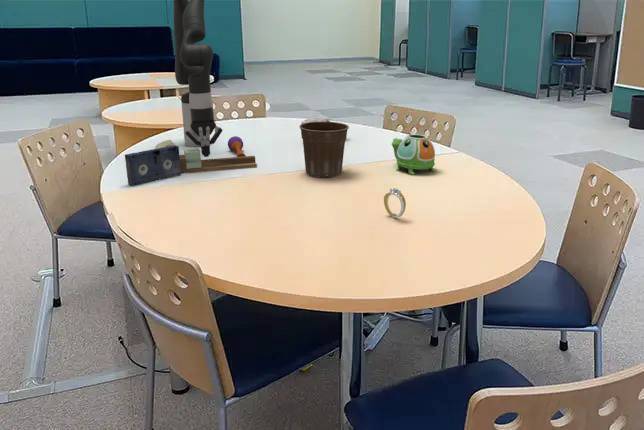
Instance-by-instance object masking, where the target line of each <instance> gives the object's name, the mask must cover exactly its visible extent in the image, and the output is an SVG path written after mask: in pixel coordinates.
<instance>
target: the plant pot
mask: <svg viewBox="0 0 644 430" xmlns="http://www.w3.org/2000/svg"><path fill="white" fill-rule="evenodd" d="M349 128H350V127H349V124H347V123H342V122H336V121H330V122H308V123H304V124H300V125H299V129H300V133H301V139H302V146H303V155H304V167H305V168H304V169H305V173H306V175H308V176H310V177H313V178H326V177H329V178H333V177H335V178H336V177H338V176H340V175H341V174H342V172H343V171H342V170H343V163H344V155H345V154H344V153H345V145H346V140H347V136H348V130H349Z"/></svg>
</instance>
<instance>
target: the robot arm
mask: <svg viewBox="0 0 644 430" xmlns="http://www.w3.org/2000/svg"><path fill="white" fill-rule="evenodd" d="M173 31H174V33H173V35H174V47H175V48H174V49H175V53H174V54H175V55H174V58H175V59H174V62H175V63H174V75H175V76H174V78H175V81H176V83H177V84H178V85H179V86H181V85H182V86H186V85H188V92H185V93H183V94H181V96H180V101H181V102H180V103H181V111H182V112H181V113H182V114H181V115H182V125H183V126H182V127H183V137H184V139H183V140H184V145H185V146H186V147H190V148H199V147H200V152H201V156H203V157H204V158H208V157H209V156H210V155H211V148H210V147H211V146H212V145H214V144H215V143H216V142H217V140H218V138H219V137H220V135H221V134H222V132H223V128H222V127H221V126H218V125H217V122H216V121H215V115H214V103H213V96H212V90H211V69H212V63H213V59H214V50H213V48H212V46H211V44H208V43H199V42H202V41H204V40H205V38H206V22H205V0H190V1H189V0H173ZM213 132H214V133H213ZM212 134H213V135H212ZM211 135H212V137H211Z"/></svg>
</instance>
